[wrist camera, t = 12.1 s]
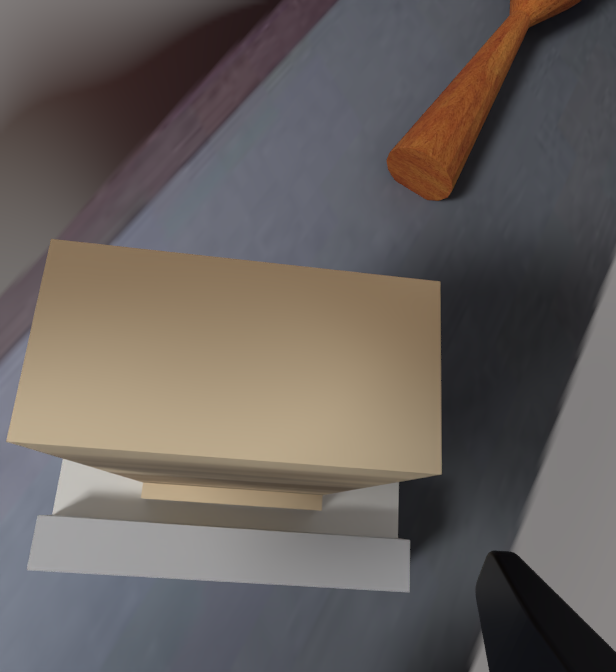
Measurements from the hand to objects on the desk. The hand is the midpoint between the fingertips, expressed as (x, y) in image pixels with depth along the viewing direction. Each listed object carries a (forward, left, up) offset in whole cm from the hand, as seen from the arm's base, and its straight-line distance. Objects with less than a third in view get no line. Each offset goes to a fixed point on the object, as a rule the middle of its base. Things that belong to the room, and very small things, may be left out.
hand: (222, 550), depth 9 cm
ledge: (+3, 0, -13) cm, 13 cm away
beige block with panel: (+3, 0, -11) cm, 11 cm away
